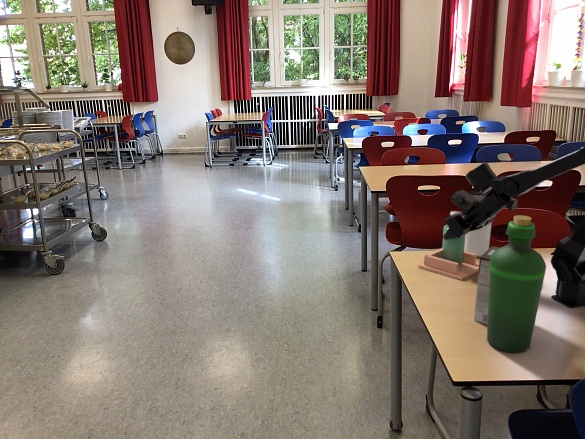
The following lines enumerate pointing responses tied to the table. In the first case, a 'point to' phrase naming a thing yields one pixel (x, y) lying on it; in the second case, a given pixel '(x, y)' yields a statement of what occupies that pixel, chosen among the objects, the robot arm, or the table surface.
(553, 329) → the table surface
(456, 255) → the bottle
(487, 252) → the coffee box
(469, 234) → the pill bottle
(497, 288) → the bottle
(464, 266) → the u rest
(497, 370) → the table surface
